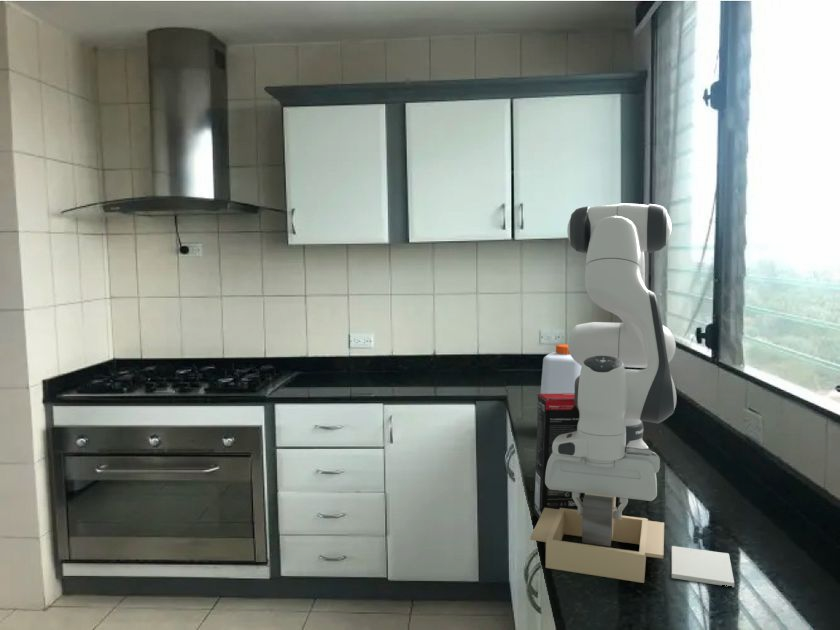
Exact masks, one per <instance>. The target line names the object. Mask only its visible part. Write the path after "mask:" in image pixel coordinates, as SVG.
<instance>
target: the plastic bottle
mask: <svg viewBox="0 0 840 630" xmlns="http://www.w3.org/2000/svg"><path fill="white" fill-rule="evenodd" d="M581 367H582V366H581V365H580V364H579V363H577V362H576V361H575V360H574V359H573V358H572V357H571V355H570V353H569V350H568V345H567V344H565V343H564V344H563V343H562V344H561V343H560V344H557V345H556V346H555V351H553V352H550V353H548V354H546V355H545V356H544V357H543V359H542V369H541V371H542V372H541V382H540V384H541V385H540V393H539V394H562V393H575V380H576V378H577V377H578V376H580V372H581Z"/></svg>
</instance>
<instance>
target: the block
mask: <svg viewBox="0 0 840 630" xmlns="http://www.w3.org/2000/svg"><path fill="white" fill-rule="evenodd" d="M615 505H616V497H613V496H609V495H600V494H591V493H585V495H584V498H583V520H582V536H581V544H588V545H595V546H603V547H612V546H611V545H612V536H613V531H614V526H615V519H613V509H614V507H615Z"/></svg>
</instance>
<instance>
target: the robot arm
mask: <svg viewBox="0 0 840 630" xmlns="http://www.w3.org/2000/svg"><path fill="white" fill-rule="evenodd" d="M566 233H567V238H568V241H569V243H570V246H571V248H573V249H574V250H575V251H576V252H579V253H582V254H586V260H585V270H584V274H585V275H584V277H585V278H584V280H585V281H584V282H585V290H586V293H587V295H588V297H589V298H590V300H592V302H593V303H594V304H595V305H597V306H598V307H599V308H601V309H603V310H604V311H607V312H609V313H611V314H613V315H614V316H617V317H618V318H619V319H620V320H621V321H622V322H609V321H607V322H605V321H604V322H603V321H602V322H601V321H600V322H599V321H592V322H591V321H590V322H585V323H579V324H576V325H575V326H574V327H573V328H572V329H571V330H570V332H569V335H568V336H567V345H568V350H569V353H570V355H571V357H572V358H573V359H574V360H575V361H576V362H577V363H579V364H580V365H581V366H582V367H581V372H580V376H578V377H577V378H576V380H575V393H574V405H575V406H576V407H577V409H578V410H579V421H578V424H577V431H575V432H570V433H566V434H561V435H559V436H557V437H556V438H555V440H554V441H553V444H552V451H553V452H552V454H551V455H550V457H549V460H548V462H547V467H546V474H545V484H546V486H547V487H548V488H549V489H551V490H560V491H569V492H572V498H573V500H574V502H575V503H576V505H577V506H578V515H583V503H582V502H581V500H580V498H579V497H580V494H581V493H591V494H600V495H609V496H613V497H619V503H620V504H619V507H618V508H616V507H614V509H613V519H616V520H621V517H622V516H623V513H622V512H623V511H624V509H625V508H626V506H627V505H628V502H629V500H630V499H632V500H638V501H646V502H647V501H648V502H652V501H653V500H655V499H656V498H657V496H658V482H657V473H658V472H659V470H660V468H661V460H660V458H661V457H660V456H659V455H658V454H657V453H656V452H654V451H652V449H650V448H649V446H648V445H647V443H646V442H645V441H644V440H643V436H644V423H643V422H648V423H653V424H660V423H662V422H664V421H665V420H667V419H668V418H669V417H670V416H672V415H673V414H674V413H675V410H676V409H675V408H676V406H677V398H678V397H677V390H676V389H677V388H676V387H675V386H676V385H675V383H674V382H675V381H674V379H673V377H672V374H671V370H670V364H669V363H670V362H671V361H672V360H673V358H674V356H675V354H676V347H677V345H676V344H677V343H676V339H675V336H674V334H673V333H672V331H671V330H670V329H669V328H668V327H667V326H665V325H663V320H662V315H661V309H660V304H659V300H658V298H657V296H656V294H655V292H653V291H652V290H650V289H648V288H647V287H646V282H645V281H646V280H645V279H646V278H645V277H646V276H645V275H646V271H645V270H646V268H645V267H646V262H645V252H647V253H648V254H651V253H654V252H658V251H661V250H662V249H663V248H665V247H666V246H667V242H668V241H669V239H670V237H671V233H672V221H671V218H670V216H669V214H668V210H667V209H666V208H665V207H664V206H663V205H659V204H652V203H649V204H648V205H647V204H641V203H640V204H639V203H618V204H608V205H607V204H606V205H605V204H603V205H596V206H591V207H590V206H588V205H587V206H583V207H579V208H576V209H575V210H574V211H573V212H572V213H571V215H570V218H569V221H568V224H567V231H566ZM632 368H634V369H632ZM637 368H638V369H637ZM639 368H640V369H639Z"/></svg>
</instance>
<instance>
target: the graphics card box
mask: <svg viewBox="0 0 840 630" xmlns="http://www.w3.org/2000/svg"><path fill="white" fill-rule="evenodd" d="M536 414H537V418H536V426H537V427H536V450H535V453H536V454H535V477H534V480H535V481H534V505H533V512H534V515H535V516H536V518H537V519H538V520H539V518H540V516H541V514H542V512H543V510H544V508H551V509H560V508H566V509H574V510H578V506H577V505H576V503H575V502H574V500H573V498H572V492H569V491H560V490H551V489H549V488H548V487H547V486H546V484H545V474H546V467H547V462H548V460H549V457H550V455H551V454H552V452H553V451H552V444H553V441H554V440H555V438H556V437H557V436H559V435H561V434H566V433H570V432H575V431H577V424H578V421H579V410H578V409H577V407H576V406H575V405H574V393H562V394H540V393H538V394H537V413H536ZM584 495H585V493H581V494H580V497H579V498H580V500H581V502H582V503H583V498H584ZM619 503H620V497H616V505H615V507H616V508H618V507H619V506H620V504H619Z"/></svg>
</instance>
